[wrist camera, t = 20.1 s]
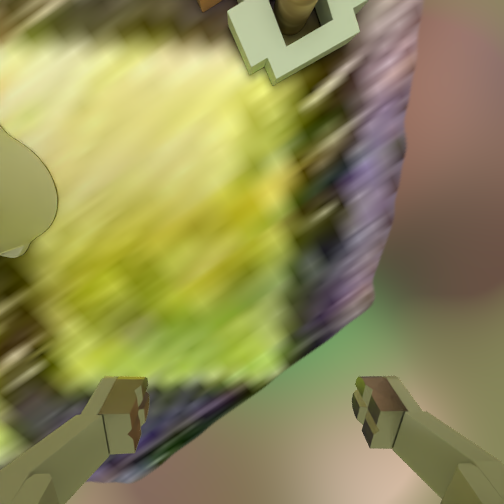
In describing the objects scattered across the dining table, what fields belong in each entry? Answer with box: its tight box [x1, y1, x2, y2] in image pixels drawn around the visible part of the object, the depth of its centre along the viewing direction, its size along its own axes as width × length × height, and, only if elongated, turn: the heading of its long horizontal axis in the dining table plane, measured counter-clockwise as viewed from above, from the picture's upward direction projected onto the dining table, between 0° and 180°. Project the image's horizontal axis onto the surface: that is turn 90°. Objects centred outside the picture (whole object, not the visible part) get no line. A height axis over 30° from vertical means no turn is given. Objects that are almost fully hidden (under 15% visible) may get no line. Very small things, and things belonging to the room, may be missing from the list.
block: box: [227, 0, 368, 86], centre depth 30 cm, size 10×14×4 cm
